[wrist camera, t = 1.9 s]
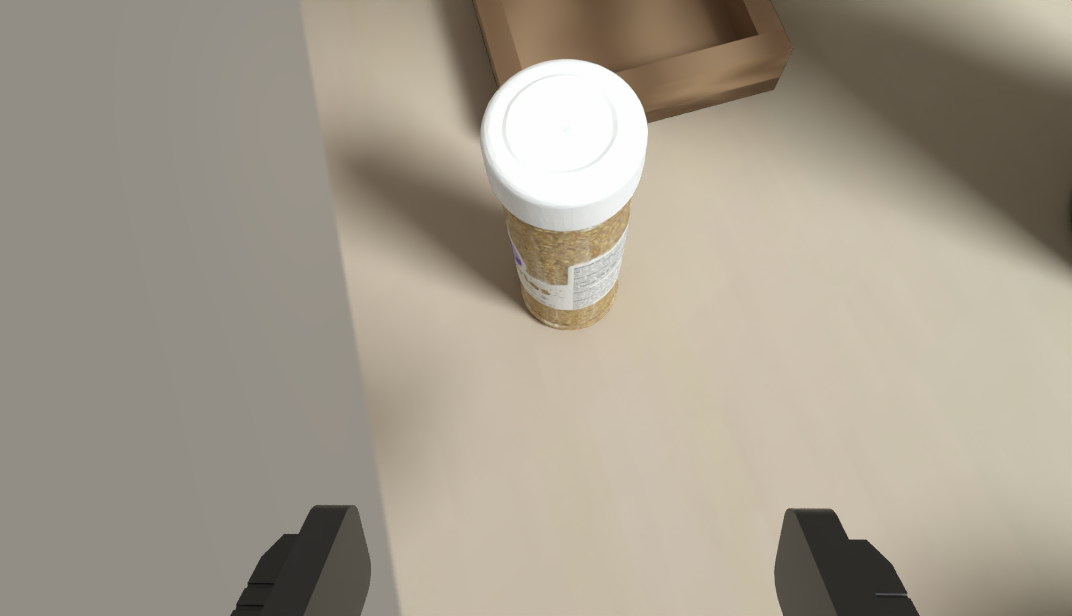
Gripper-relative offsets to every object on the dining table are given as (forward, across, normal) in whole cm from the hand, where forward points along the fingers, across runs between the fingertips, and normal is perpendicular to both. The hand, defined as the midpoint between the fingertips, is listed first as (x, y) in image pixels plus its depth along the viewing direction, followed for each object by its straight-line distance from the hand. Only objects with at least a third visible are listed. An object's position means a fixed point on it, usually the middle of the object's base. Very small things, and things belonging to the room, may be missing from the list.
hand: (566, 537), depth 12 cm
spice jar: (+18, 0, +4) cm, 18 cm away
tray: (+29, -2, -7) cm, 30 cm away
